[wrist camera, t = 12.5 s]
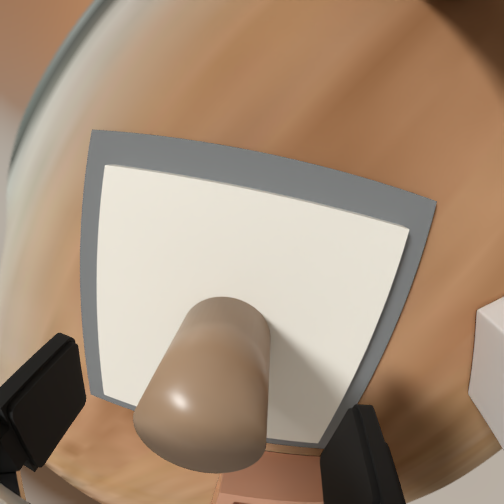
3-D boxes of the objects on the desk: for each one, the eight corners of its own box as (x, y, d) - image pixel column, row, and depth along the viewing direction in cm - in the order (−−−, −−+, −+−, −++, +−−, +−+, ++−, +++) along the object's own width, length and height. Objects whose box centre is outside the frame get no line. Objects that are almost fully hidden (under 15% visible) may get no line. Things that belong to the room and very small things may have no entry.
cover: (402, 225, 12) (497, 281, 6) (316, 434, 16) (325, 527, 9) (113, 164, 12) (1, 175, 6) (109, 386, 16) (58, 464, 10)
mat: (432, 200, 12) (436, 201, 12) (329, 444, 17) (330, 448, 16) (96, 130, 12) (92, 129, 12) (93, 390, 17) (90, 394, 16)
